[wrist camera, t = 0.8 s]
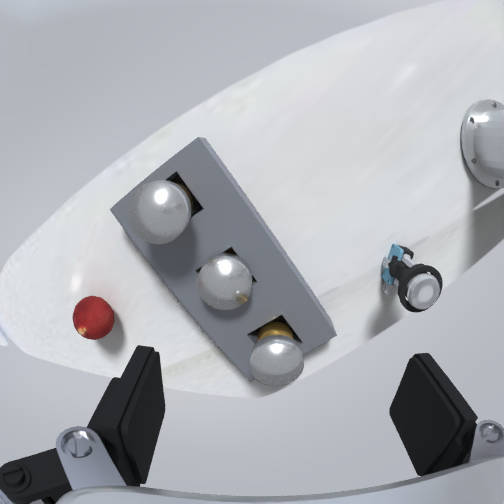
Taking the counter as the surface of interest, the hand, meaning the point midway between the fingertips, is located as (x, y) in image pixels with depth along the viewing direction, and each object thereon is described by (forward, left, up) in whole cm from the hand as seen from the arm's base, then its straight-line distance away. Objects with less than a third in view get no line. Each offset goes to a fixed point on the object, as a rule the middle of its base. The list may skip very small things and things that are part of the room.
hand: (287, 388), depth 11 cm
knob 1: (+7, -8, -25) cm, 27 cm away
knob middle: (+7, +2, -28) cm, 29 cm away
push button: (-10, +14, -29) cm, 33 cm away
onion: (+26, -3, -29) cm, 39 cm away
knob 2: (+7, +12, -25) cm, 29 cm away
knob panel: (+7, +2, -28) cm, 29 cm away
